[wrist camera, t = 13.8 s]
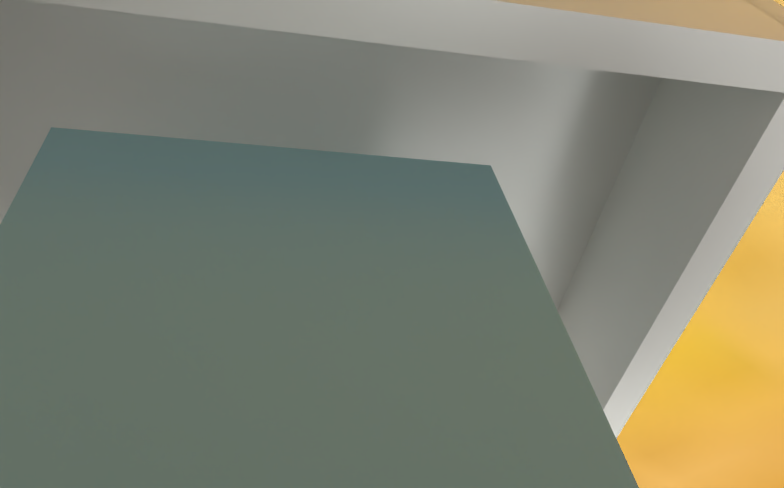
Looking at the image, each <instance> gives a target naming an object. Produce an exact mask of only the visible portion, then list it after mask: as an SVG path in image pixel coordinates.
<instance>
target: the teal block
mask: <svg viewBox="0 0 784 488" xmlns="http://www.w3.org/2000/svg"><path fill="white" fill-rule="evenodd" d="M0 488H639V487H638V485H637V483H636V481H635V478H634V476H633V474H632V472H631V470H630V468H629V465H628V463H627V461H626V459H625V457H624V454H623V452H622V450H621V448H620V446H619V444H618V441H617V439H616V437H615V435H614V433H613V431H612V428H611V426H610V424H609V422H608V420H607V417H606V415H605V413H604V411H603V409H602V407H601V404H600V402H599V400H598V398H597V396H596V394H595V391H594V389H593V387H592V385H591V383H590V380H589V378H588V376H587V374H586V372H585V370H584V367H583V365H582V363H581V361H580V359H579V357H578V354H577V352H576V350H575V348H574V346H573V343H572V341H571V339H570V337H569V335H568V333H567V330H566V328H565V326H564V324H563V322H562V320H561V317H560V315H559V313H558V311H557V309H556V306H555V304H554V302H553V300H552V298H551V296H550V293H549V291H548V289H547V287H546V285H545V283H544V280H543V278H542V276H541V274H540V272H539V269H538V267H537V265H536V263H535V261H534V259H533V256H532V254H531V252H530V250H529V248H528V246H527V243H526V241H525V239H524V237H523V235H522V232H521V230H520V228H519V226H518V224H517V222H516V219H515V217H514V215H513V213H512V211H511V209H510V206H509V204H508V202H507V200H506V198H505V195H504V193H503V191H502V189H501V187H500V185H499V182H498V180H497V178H496V176H495V174H494V172H493V169H492V167H491V165H481V164H469V163H458V162H446V161H435V160H423V159H412V158H400V157H389V156H377V155H366V154H354V153H343V152H331V151H320V150H308V149H297V148H285V147H274V146H262V145H251V144H239V143H228V142H216V141H205V140H193V139H182V138H170V137H159V136H147V135H136V134H124V133H113V132H101V131H90V130H78V129H67V128H55V127H51V129H50V131H49V133H48V134H47V136H46V138H45V140H44V142H43V144H42V146H41V148H40V150H39V152H38V154H37V155H36V157H35V159H34V161H33V163H32V165H31V167H30V169H29V171H28V173H27V174H26V176H25V178H24V180H23V182H22V184H21V186H20V188H19V190H18V192H17V194H16V195H15V197H14V199H13V201H12V203H11V205H10V207H9V209H8V211H7V213H6V215H5V216H4V218H3V220H2V222H1V224H0Z"/></svg>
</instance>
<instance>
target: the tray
mask: <svg viewBox="0 0 784 488" xmlns="http://www.w3.org/2000/svg"><path fill="white" fill-rule="evenodd" d="M51 127H55V128H67V129H78V130H90V131H101V132H113V133H124V134H136V135H147V136H159V137H170V138H182V139H193V140H205V141H216V142H228V143H239V144H251V145H262V146H274V147H285V148H297V149H308V150H320V151H331V152H343V153H354V154H366V155H377V156H389V157H400V158H412V159H423V160H435V161H446V162H458V163H469V164H481V165H491V167H492V169H493V172H494V174H495V176H496V178H497V180H498V182H499V185H500V187H501V189H502V191H503V193H504V195H505V198H506V200H507V202H508V204H509V206H510V209H511V211H512V213H513V215H514V217H515V219H516V222H517V224H518V226H519V228H520V230H521V232H522V235H523V237H524V239H525V241H526V243H527V246H528V248H529V250H530V252H531V254H532V256H533V259H534V261H535V263H536V265H537V267H538V269H539V272H540V274H541V276H542V278H543V280H544V283H545V285H546V287H547V289H548V291H549V293H550V296H551V298H552V300H553V302H554V304H555V306H556V309H557V311H558V313H559V315H560V317H561V320H562V322H563V324H564V326H565V328H566V330H567V333H568V335H569V337H570V339H571V341H572V343H573V346H574V348H575V350H576V352H577V354H578V357H579V359H580V361H581V363H582V365H583V367H584V370H585V372H586V374H587V376H588V378H589V380H590V383H591V385H592V387H593V389H594V391H595V394H596V396H597V398H598V400H599V402H600V404H601V407H602V409H603V411H604V413H605V415H606V417H607V420H608V422H609V424H610V426H611V428H612V431H613V433H614V435H615V437H616V438H617V436H618V435H619V433H620V432H621V430H622V428H623V427H624V425H625V424H626V422H627V420H628V419H629V417H630V416H631V414H632V412H633V411H634V409H635V408H636V406H637V404H638V403H639V401H640V400H641V398H642V396H643V395H644V393H645V392H646V390H647V388H648V387H649V385H650V384H651V382H652V380H653V379H654V377H655V376H656V374H657V372H658V371H659V369H660V368H661V366H662V364H663V363H664V361H665V360H666V358H667V356H668V355H669V353H670V352H671V350H672V348H673V347H674V345H675V343H676V342H677V340H678V339H679V337H680V335H681V334H682V332H683V331H684V329H685V327H686V326H687V324H688V323H689V321H690V319H691V318H692V316H693V315H694V313H695V311H696V310H697V308H698V307H699V305H700V303H701V302H702V300H703V299H704V297H705V295H706V294H707V292H708V291H709V289H710V287H711V286H712V284H713V283H714V281H715V279H716V278H717V276H718V275H719V273H720V271H721V270H722V268H723V267H724V265H725V263H726V262H727V260H728V259H729V257H730V255H731V254H732V252H733V251H734V249H735V247H736V246H737V244H738V243H739V241H740V239H741V238H742V236H743V234H744V233H745V231H746V230H747V228H748V226H749V225H750V223H751V222H752V220H753V218H754V217H755V215H756V214H757V212H758V210H759V209H760V207H761V206H762V204H763V202H764V201H765V199H766V198H767V196H768V194H769V193H770V191H771V190H772V188H773V186H774V185H775V183H776V182H777V180H778V178H779V177H780V175H781V174H782V172H783V170H784V7H783V6H782V5H780V4H778V3H777V2H775V1H774V0H0V224H1V222H2V220H3V218H4V216H5V215H6V213H7V211H8V209H9V207H10V205H11V203H12V201H13V199H14V197H15V195H16V194H17V192H18V190H19V188H20V186H21V184H22V182H23V180H24V178H25V176H26V174H27V173H28V171H29V169H30V167H31V165H32V163H33V161H34V159H35V157H36V155H37V154H38V152H39V150H40V148H41V146H42V144H43V142H44V140H45V138H46V136H47V134H48V133H49V131H50V129H51Z"/></svg>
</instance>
